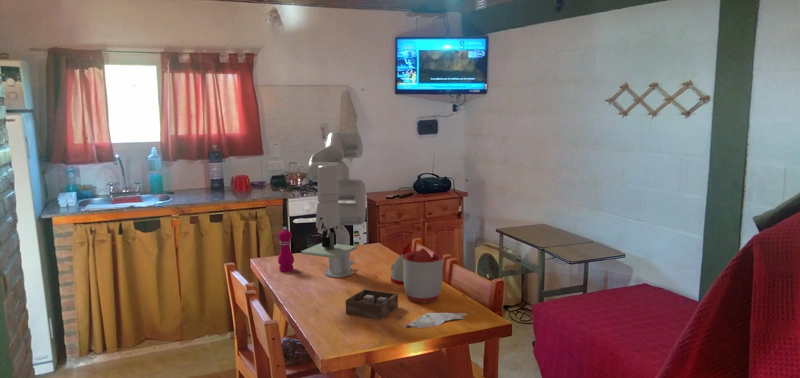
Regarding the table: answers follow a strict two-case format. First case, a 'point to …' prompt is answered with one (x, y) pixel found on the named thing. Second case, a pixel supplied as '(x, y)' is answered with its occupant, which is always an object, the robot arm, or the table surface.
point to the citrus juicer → (422, 275)
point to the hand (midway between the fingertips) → (329, 245)
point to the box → (372, 304)
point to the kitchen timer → (399, 268)
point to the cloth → (434, 319)
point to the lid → (329, 249)
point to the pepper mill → (285, 251)
